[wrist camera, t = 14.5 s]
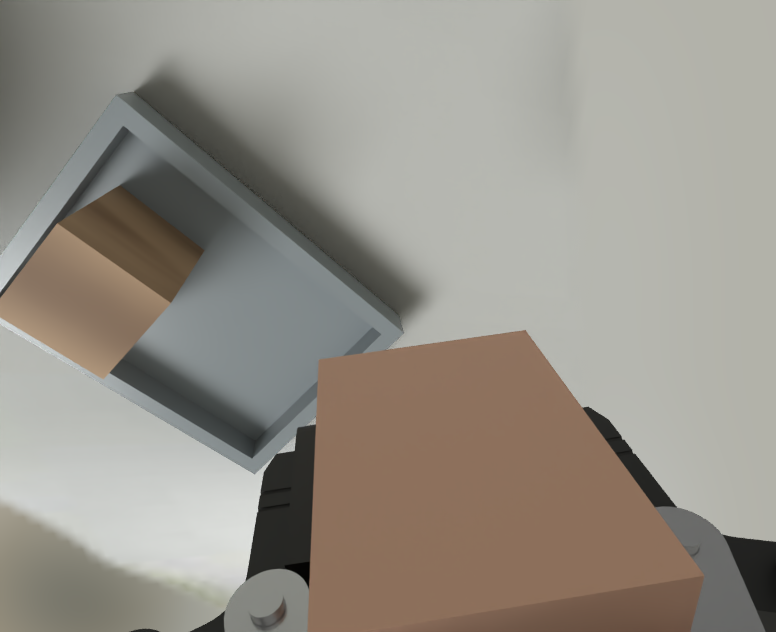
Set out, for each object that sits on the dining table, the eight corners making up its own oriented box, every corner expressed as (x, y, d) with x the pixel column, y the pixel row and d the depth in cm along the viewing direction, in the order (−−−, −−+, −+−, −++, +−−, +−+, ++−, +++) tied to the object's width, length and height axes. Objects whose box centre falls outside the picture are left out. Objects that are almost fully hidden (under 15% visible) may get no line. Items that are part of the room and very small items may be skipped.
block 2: (347, 511, 13) (360, 826, 8) (319, 359, 11) (306, 640, 6) (523, 484, 13) (654, 773, 8) (525, 330, 11) (704, 575, 6)
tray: (-9, 286, 25) (-35, 304, 23) (133, 91, 22) (116, 94, 20) (258, 450, 31) (254, 474, 29) (398, 315, 28) (403, 332, 26)
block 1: (149, 313, 26) (103, 379, 21) (64, 255, 24) (-10, 311, 19) (204, 250, 25) (171, 303, 19) (119, 185, 23) (56, 223, 18)
